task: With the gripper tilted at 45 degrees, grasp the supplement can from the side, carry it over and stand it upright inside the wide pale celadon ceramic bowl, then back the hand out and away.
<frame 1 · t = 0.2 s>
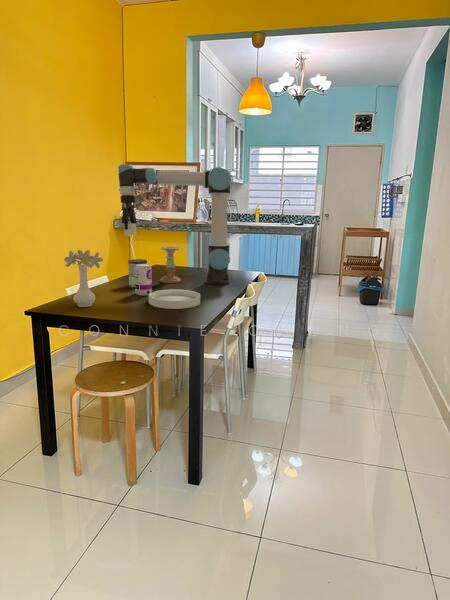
hand: (130, 235, 221), 28 cm above the table, tool pointing down, fingers open, 13 cm apart
coffee can: (138, 285, 230), on the table
candle holder: (170, 281, 243), on the table
flower vase: (84, 305, 185), on the table
ceramic bowl: (174, 302, 195), on the table
supplement can: (143, 294, 210), on the table
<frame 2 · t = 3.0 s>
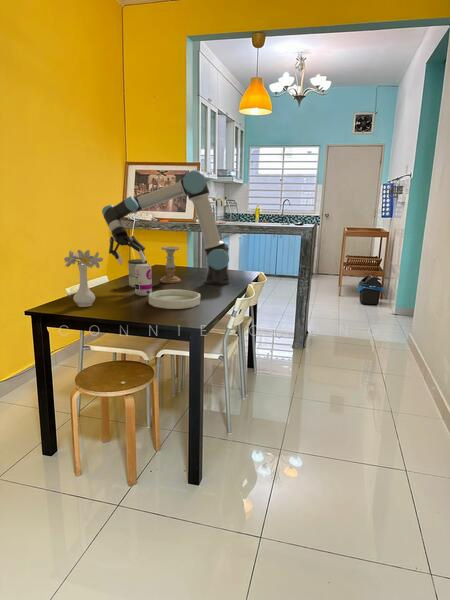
hand: (133, 262, 212), 15 cm above the table, tool tilted 45°, fingers open, 13 cm apart
nothing on the table moved.
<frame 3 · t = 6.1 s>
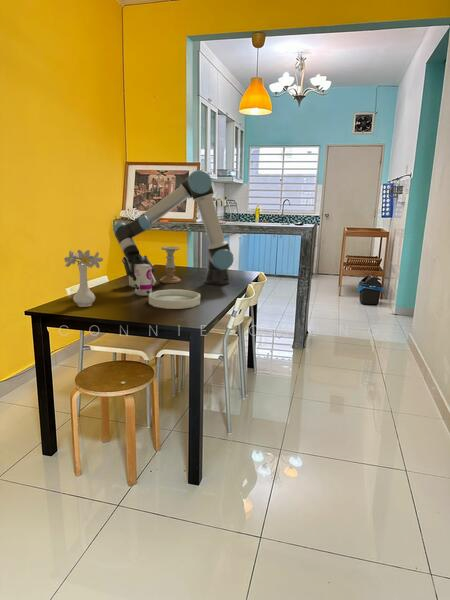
hand: (147, 284, 206), 6 cm above the table, tool tilted 45°, fingers closed on supplement can, 8 cm apart
supplement can: (143, 294, 210), on the table, touching gripper
everything else where it was.
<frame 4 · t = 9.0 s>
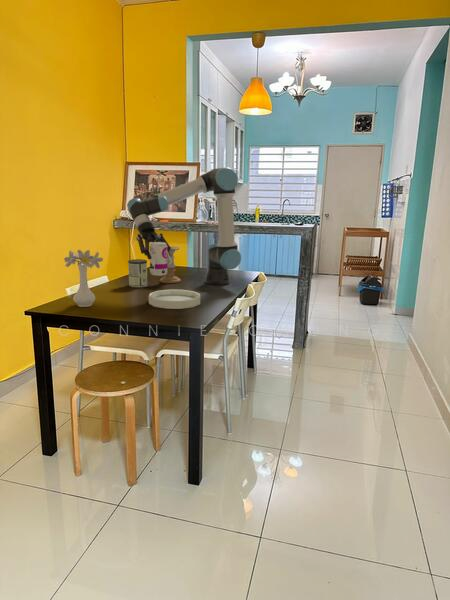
hand: (162, 263, 193), 18 cm above the table, tool tilted 45°, fingers closed on supplement can, 8 cm apart
supplement can: (158, 274, 197), point 12 cm above the table, touching gripper
everything else where it was.
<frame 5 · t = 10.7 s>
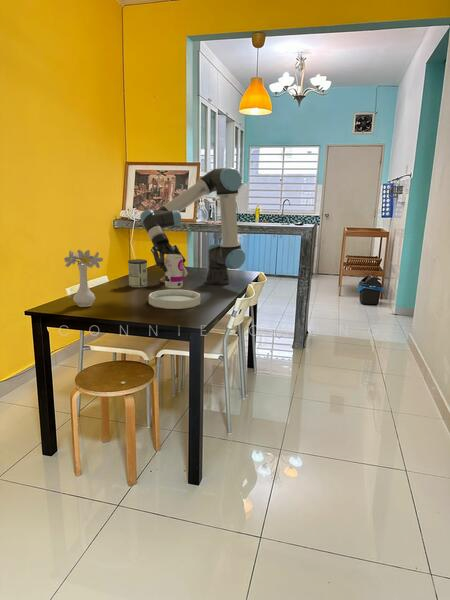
hand: (178, 275, 189), 13 cm above the table, tool tilted 45°, fingers closed on supplement can, 8 cm apart
supplement can: (173, 287, 193), point 7 cm above the table, touching gripper
everything else where it was.
when the fingers open (8 cm above the table, at t = 12.0 s): supplement can drops 1 cm, resting on ceramic bowl.
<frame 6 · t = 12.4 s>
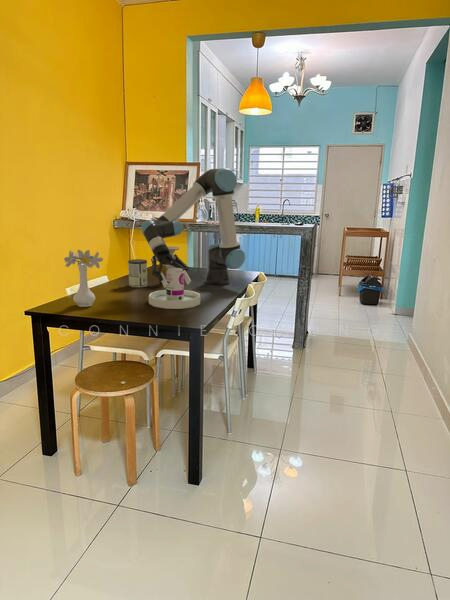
hand: (178, 284, 191), 9 cm above the table, tool tilted 45°, fingers open, 13 cm apart
supplement can: (175, 300, 195), point 1 cm above the table, touching ceramic bowl
everything else where it was.
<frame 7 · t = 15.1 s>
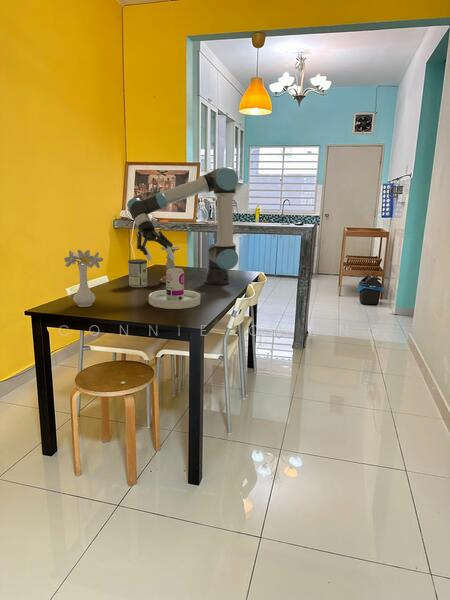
hand: (162, 259, 199), 19 cm above the table, tool tilted 45°, fingers open, 13 cm apart
nothing on the table moved.
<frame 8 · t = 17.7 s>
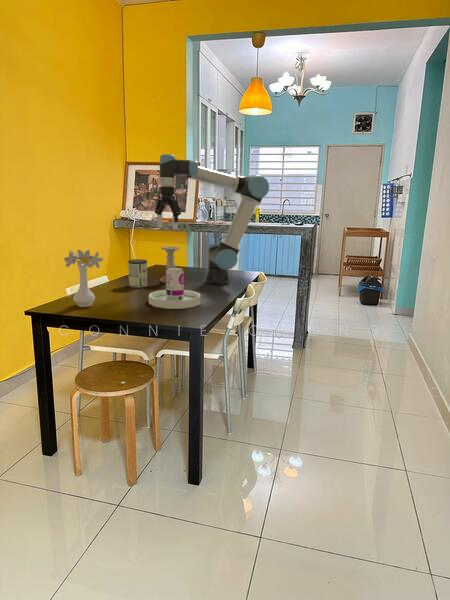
hand: (167, 228, 216), 33 cm above the table, tool pointing down, fingers open, 13 cm apart
nothing on the table moved.
at the end: supplement can inside the target area on the ceramic bowl (0.1 cm from its centre), point 0.8 cm above the ceramic bowl's base; supplement can tilted 0°; the gripper is holding nothing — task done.
